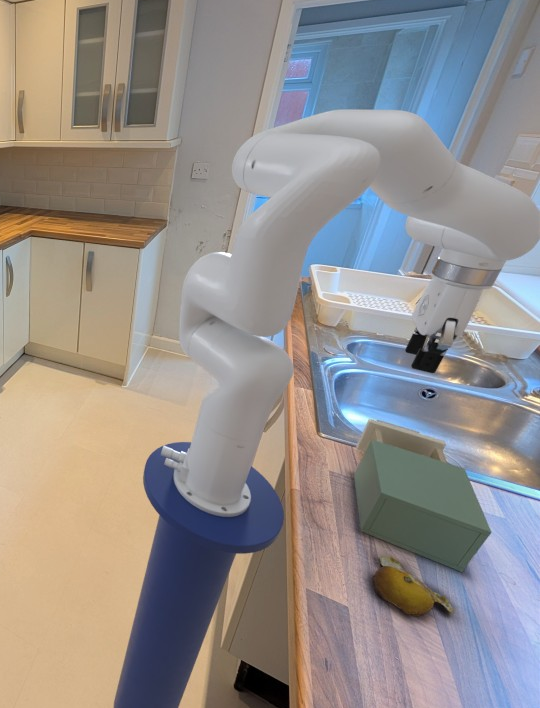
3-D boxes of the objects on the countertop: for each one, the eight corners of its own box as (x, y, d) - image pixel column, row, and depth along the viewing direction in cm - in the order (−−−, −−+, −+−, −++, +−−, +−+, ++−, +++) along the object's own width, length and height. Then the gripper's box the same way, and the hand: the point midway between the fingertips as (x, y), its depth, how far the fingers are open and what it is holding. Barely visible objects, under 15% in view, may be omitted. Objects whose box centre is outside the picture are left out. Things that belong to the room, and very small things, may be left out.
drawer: (354, 433, 86) (366, 406, 83) (423, 454, 81) (439, 427, 78) (361, 489, 74) (377, 459, 71) (444, 519, 68) (464, 488, 65)
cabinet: (353, 475, 77) (371, 439, 74) (440, 505, 72) (464, 468, 68) (360, 531, 67) (381, 492, 64) (462, 572, 61) (491, 532, 58)
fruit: (457, 609, 57) (470, 592, 55) (424, 637, 54) (436, 620, 52) (385, 554, 64) (394, 538, 62) (351, 577, 61) (361, 560, 59)
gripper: (424, 255, 81) (386, 337, 88) (445, 284, 68) (399, 377, 75) (479, 262, 77) (435, 348, 84) (514, 294, 64) (458, 392, 72)
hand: (419, 361), depth 80 cm, fingers open, 5 cm apart
